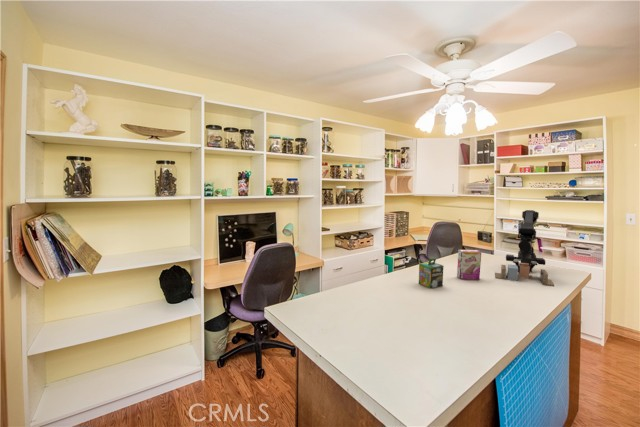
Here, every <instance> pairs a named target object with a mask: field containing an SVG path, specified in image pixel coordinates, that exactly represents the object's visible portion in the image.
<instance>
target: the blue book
mask: <svg viewBox="0 0 640 427" xmlns="http://www.w3.org/2000/svg"><path fill="white" fill-rule="evenodd" d="M506 274H507V276H506V278H507V280H509V281H510V280H511V281H515V282H518V278H519V273H518V266H517V265H516V264H507V272H506Z"/></svg>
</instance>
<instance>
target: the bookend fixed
mask: <svg viewBox="0 0 640 427" xmlns="http://www.w3.org/2000/svg"><path fill="white" fill-rule="evenodd" d="M500 266H501V268H500V272H494V279H499V280H506V279H507V276H506V274H507V267H506V264H501V265H500Z"/></svg>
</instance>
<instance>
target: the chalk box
mask: <svg viewBox="0 0 640 427" xmlns="http://www.w3.org/2000/svg"><path fill="white" fill-rule="evenodd" d="M436 261H437V258H430V259H429V260H428V261H425V262H421V263H419V265H418V284H419V285H422V286H424V287H427V288H428V289H435V288H439V287H443V286H444V285H443V283H444V264H439V263H437V262H436Z"/></svg>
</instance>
